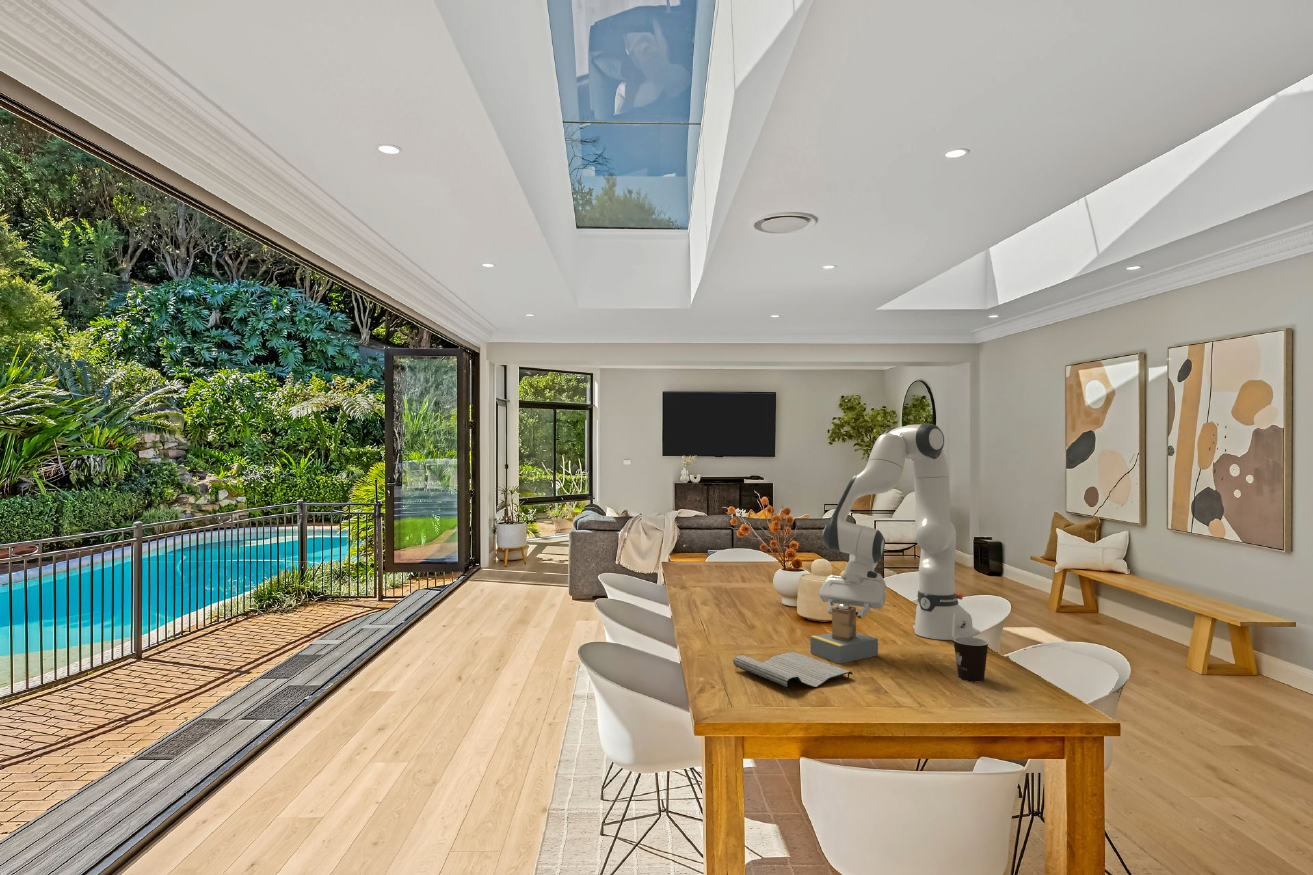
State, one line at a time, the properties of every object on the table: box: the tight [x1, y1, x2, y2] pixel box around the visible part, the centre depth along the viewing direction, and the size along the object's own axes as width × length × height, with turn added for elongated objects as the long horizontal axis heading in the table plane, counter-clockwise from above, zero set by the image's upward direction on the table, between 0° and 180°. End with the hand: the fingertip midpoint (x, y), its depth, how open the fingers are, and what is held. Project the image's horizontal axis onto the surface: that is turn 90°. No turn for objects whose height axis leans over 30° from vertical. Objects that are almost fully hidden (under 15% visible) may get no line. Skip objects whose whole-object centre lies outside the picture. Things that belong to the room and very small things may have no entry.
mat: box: [732, 651, 853, 693], centre depth 187 cm, size 23×24×5 cm
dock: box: [810, 631, 879, 665], centre depth 205 cm, size 16×12×5 cm
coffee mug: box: [952, 636, 989, 683], centre depth 185 cm, size 12×9×10 cm
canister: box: [837, 604, 850, 610], centre depth 206 cm, size 3×3×2 cm
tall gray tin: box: [831, 606, 857, 641], centre depth 205 cm, size 6×5×9 cm
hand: (845, 615), depth 205 cm, fingers open, 8 cm apart
